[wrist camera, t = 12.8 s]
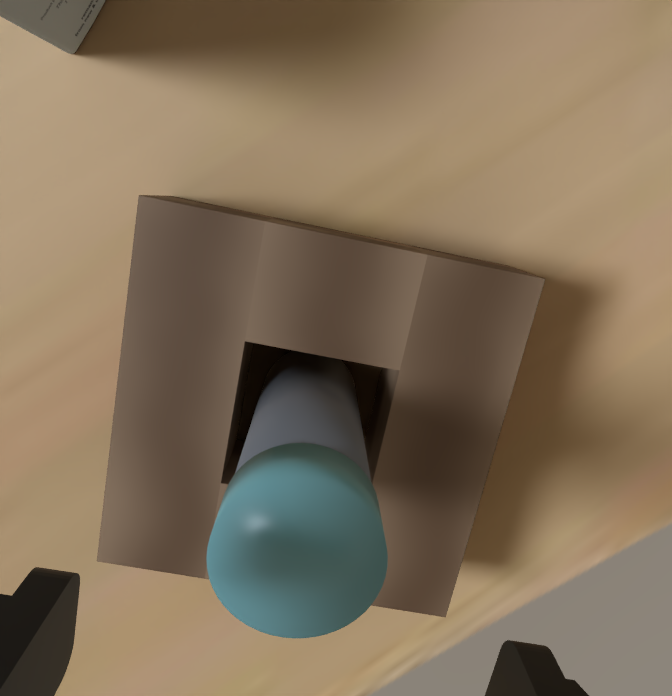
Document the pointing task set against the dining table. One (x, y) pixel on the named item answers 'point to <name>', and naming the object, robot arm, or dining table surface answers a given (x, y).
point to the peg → (300, 508)
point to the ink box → (54, 19)
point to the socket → (315, 338)
